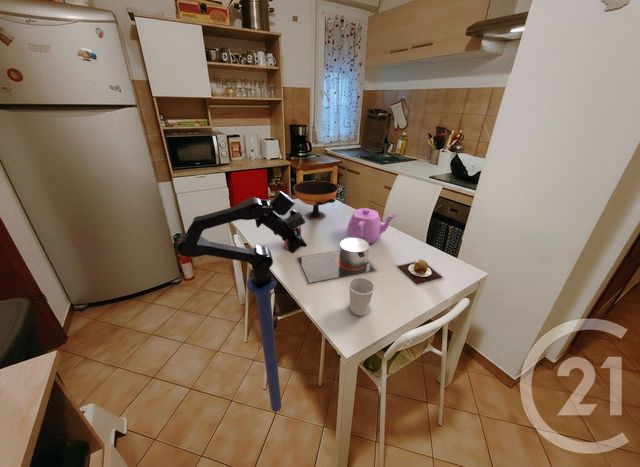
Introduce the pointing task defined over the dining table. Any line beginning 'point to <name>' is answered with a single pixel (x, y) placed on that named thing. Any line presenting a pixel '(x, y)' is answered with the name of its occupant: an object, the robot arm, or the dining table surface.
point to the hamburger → (419, 271)
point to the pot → (353, 252)
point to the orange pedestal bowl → (316, 195)
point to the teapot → (367, 225)
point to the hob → (328, 267)
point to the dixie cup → (360, 295)
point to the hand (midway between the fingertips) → (306, 245)
